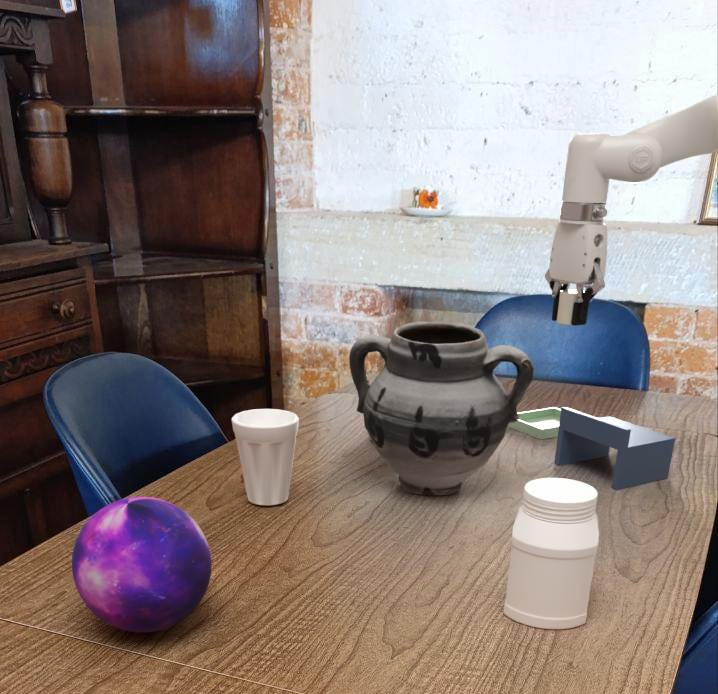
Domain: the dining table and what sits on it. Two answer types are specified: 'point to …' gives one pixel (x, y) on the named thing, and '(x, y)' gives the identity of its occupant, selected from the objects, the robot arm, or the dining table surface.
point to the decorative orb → (141, 564)
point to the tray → (538, 423)
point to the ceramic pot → (437, 401)
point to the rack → (634, 444)
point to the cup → (266, 452)
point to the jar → (552, 554)
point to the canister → (566, 306)
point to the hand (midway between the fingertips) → (568, 321)
